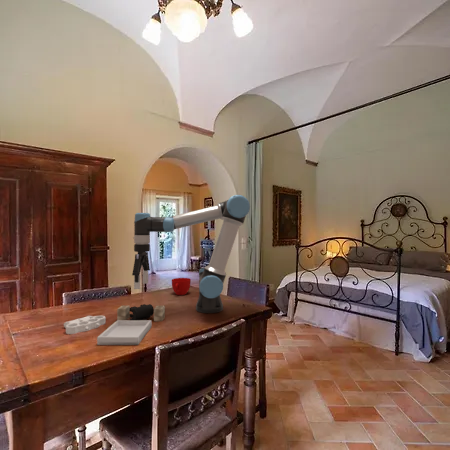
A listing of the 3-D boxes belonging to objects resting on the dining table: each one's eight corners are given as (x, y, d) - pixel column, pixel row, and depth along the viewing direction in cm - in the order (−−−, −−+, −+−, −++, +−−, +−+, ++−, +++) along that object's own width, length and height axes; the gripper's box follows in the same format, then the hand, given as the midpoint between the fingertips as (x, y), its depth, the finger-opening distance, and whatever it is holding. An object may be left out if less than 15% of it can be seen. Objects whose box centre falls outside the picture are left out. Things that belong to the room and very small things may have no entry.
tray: (151, 326, 131) (151, 320, 131) (138, 345, 111) (138, 337, 111) (117, 326, 131) (117, 320, 131) (97, 344, 111) (97, 337, 111)
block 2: (164, 317, 145) (164, 305, 145) (162, 321, 139) (162, 309, 139) (156, 317, 145) (156, 305, 145) (153, 321, 139) (153, 309, 139)
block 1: (129, 317, 145) (129, 305, 145) (125, 321, 139) (125, 309, 139) (121, 317, 145) (121, 305, 145) (117, 321, 139) (117, 309, 139)
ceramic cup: (166, 297, 186) (166, 282, 186) (175, 291, 202) (175, 277, 202) (185, 298, 183) (185, 282, 183) (192, 292, 200) (192, 278, 200)
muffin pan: (93, 319, 143) (111, 324, 135) (56, 330, 128) (74, 337, 120) (93, 312, 143) (111, 317, 135) (56, 323, 128) (74, 329, 120)
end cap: (136, 323, 136) (136, 309, 136) (128, 320, 141) (128, 306, 141) (154, 318, 143) (154, 305, 143) (146, 315, 148) (146, 302, 148)
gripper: (142, 242, 155) (141, 281, 155) (125, 245, 130) (124, 291, 130) (155, 242, 155) (155, 281, 154) (141, 245, 130) (141, 291, 130)
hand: (141, 286), depth 142 cm, fingers open, 13 cm apart
